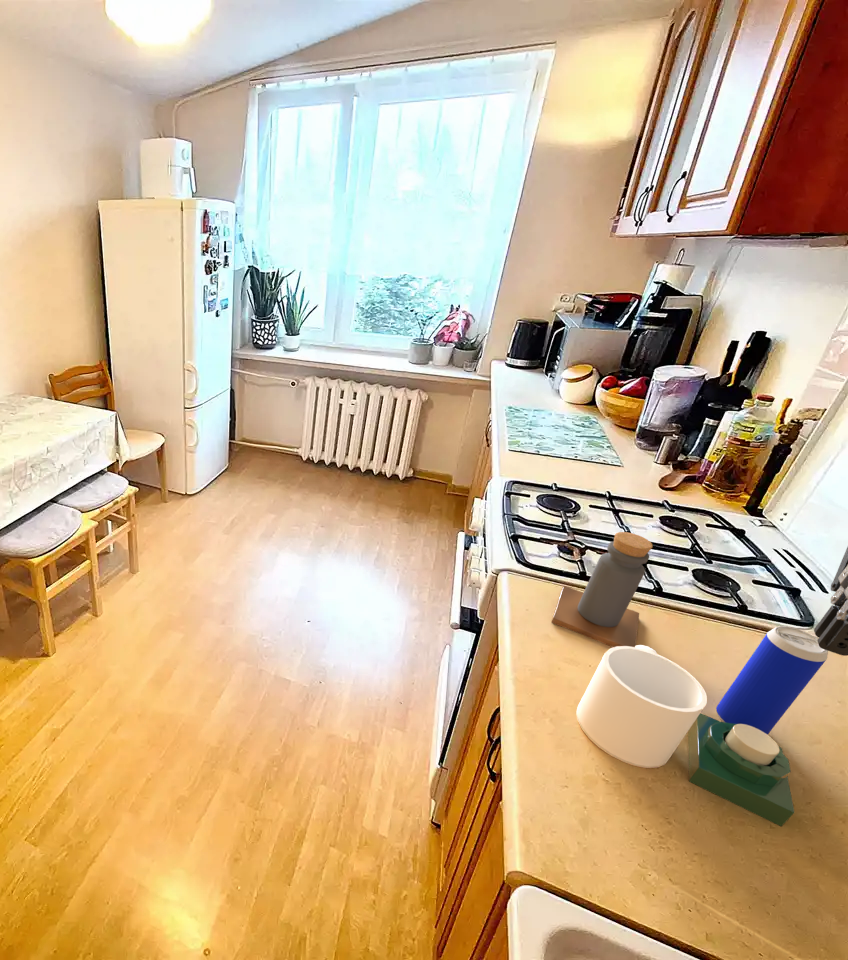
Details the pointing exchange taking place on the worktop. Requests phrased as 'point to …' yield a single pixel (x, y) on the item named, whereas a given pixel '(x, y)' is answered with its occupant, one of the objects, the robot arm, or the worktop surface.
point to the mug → (639, 706)
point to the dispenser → (738, 772)
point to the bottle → (615, 579)
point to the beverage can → (772, 678)
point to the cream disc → (752, 744)
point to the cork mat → (574, 621)
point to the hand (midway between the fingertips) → (829, 643)
